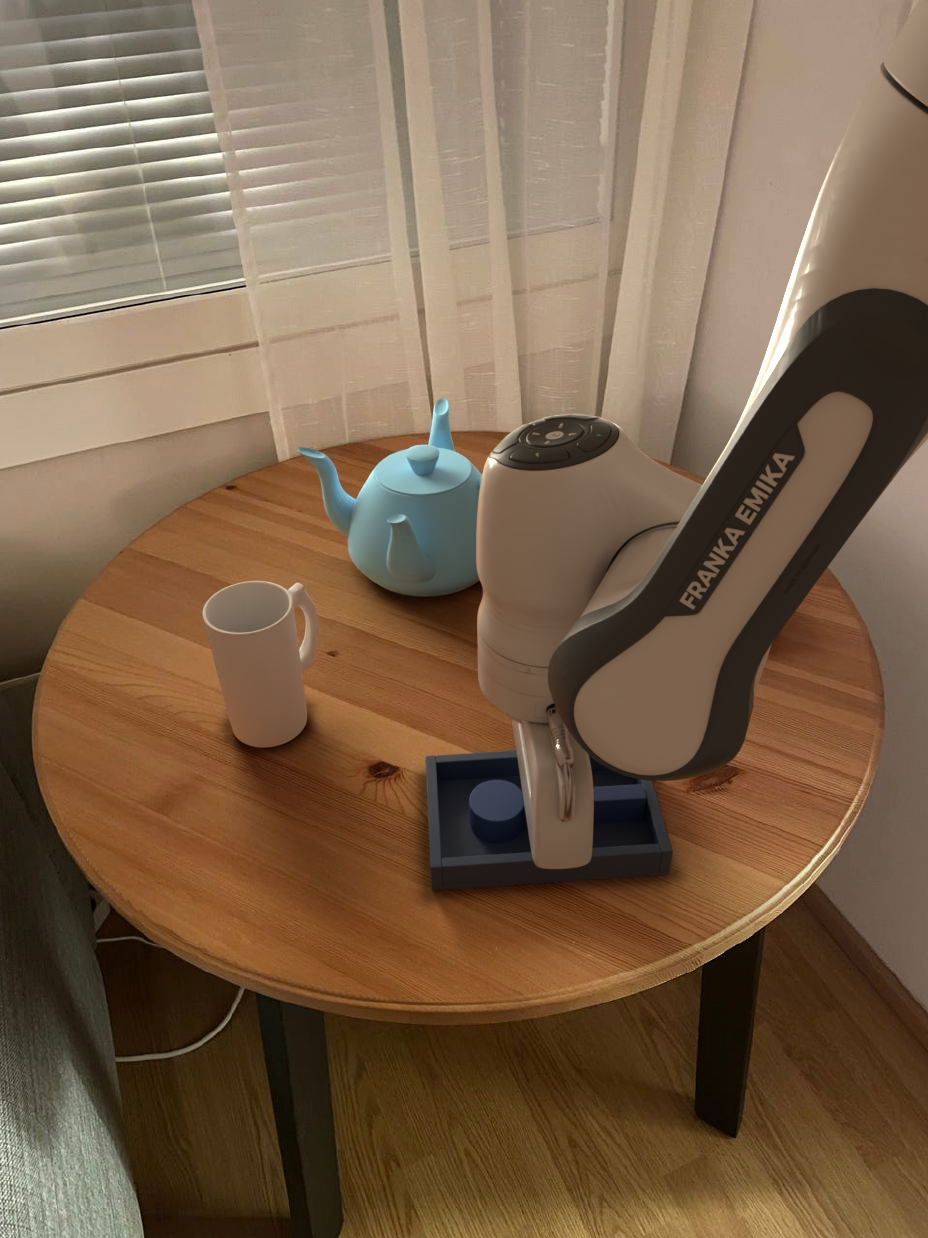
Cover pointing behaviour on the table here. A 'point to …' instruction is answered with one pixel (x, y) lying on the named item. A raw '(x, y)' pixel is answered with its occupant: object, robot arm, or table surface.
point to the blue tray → (510, 863)
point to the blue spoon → (504, 812)
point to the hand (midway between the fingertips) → (540, 804)
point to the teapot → (410, 515)
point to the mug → (262, 658)
